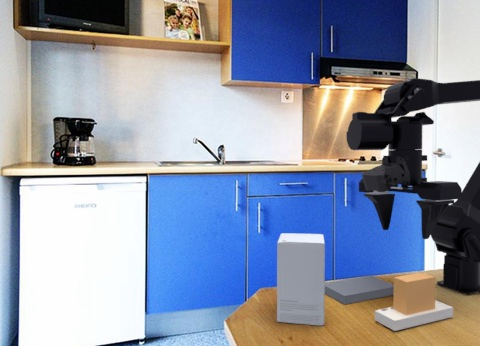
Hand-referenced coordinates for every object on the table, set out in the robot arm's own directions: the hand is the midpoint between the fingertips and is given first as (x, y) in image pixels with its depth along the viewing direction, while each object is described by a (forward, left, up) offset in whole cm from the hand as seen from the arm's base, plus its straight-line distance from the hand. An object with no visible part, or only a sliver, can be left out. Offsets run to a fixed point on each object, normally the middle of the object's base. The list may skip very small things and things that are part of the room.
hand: (404, 234), depth 70 cm
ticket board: (+8, -3, -11) cm, 14 cm away
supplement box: (+23, +1, -11) cm, 26 cm away
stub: (+8, +10, -11) cm, 16 cm away
